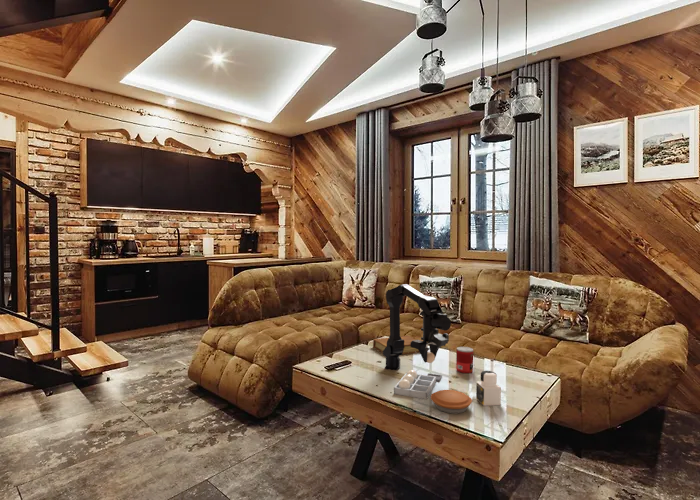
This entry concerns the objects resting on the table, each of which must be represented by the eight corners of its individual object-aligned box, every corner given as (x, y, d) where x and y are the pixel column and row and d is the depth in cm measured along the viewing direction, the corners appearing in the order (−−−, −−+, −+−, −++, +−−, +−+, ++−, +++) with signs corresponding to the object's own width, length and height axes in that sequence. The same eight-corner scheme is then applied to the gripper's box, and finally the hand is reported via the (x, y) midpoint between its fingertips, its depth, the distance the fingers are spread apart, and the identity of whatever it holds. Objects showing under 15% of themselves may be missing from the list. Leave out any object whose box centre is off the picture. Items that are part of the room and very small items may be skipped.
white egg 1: (405, 381, 177) (405, 371, 177) (408, 378, 181) (408, 367, 181) (415, 383, 175) (416, 372, 175) (418, 379, 180) (418, 369, 179)
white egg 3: (397, 392, 165) (397, 380, 165) (400, 388, 169) (400, 377, 169) (408, 393, 163) (408, 382, 163) (411, 389, 167) (411, 378, 167)
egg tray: (393, 393, 164) (393, 387, 164) (406, 378, 183) (406, 372, 183) (426, 399, 159) (426, 392, 159) (435, 382, 178) (436, 376, 178)
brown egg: (429, 365, 172) (429, 354, 171) (421, 362, 175) (421, 351, 175) (437, 363, 174) (437, 352, 174) (429, 360, 178) (429, 349, 178)
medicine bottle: (475, 398, 160) (476, 369, 160) (492, 398, 160) (493, 369, 160) (483, 406, 153) (483, 375, 152) (501, 405, 153) (501, 375, 153)
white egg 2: (401, 386, 171) (401, 375, 171) (404, 382, 175) (404, 372, 175) (412, 388, 169) (412, 377, 169) (415, 384, 173) (415, 373, 173)
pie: (437, 396, 162) (437, 384, 162) (476, 404, 154) (476, 392, 154) (424, 410, 149) (424, 397, 149) (466, 420, 141) (466, 406, 141)
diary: (406, 344, 244) (406, 335, 244) (422, 353, 226) (423, 343, 226) (373, 347, 235) (373, 338, 235) (387, 356, 218) (387, 346, 218)
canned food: (473, 374, 189) (474, 351, 189) (456, 372, 191) (457, 350, 191) (472, 368, 197) (472, 347, 197) (455, 367, 198) (456, 346, 198)
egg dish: (425, 379, 181) (425, 377, 181) (428, 375, 187) (428, 373, 187) (439, 381, 179) (439, 379, 179) (441, 377, 185) (441, 375, 184)
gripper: (429, 332, 163) (428, 370, 163) (457, 326, 174) (457, 361, 174) (409, 327, 172) (409, 363, 172) (437, 322, 183) (437, 356, 183)
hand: (429, 361), depth 175 cm, fingers closed on brown egg, 5 cm apart
